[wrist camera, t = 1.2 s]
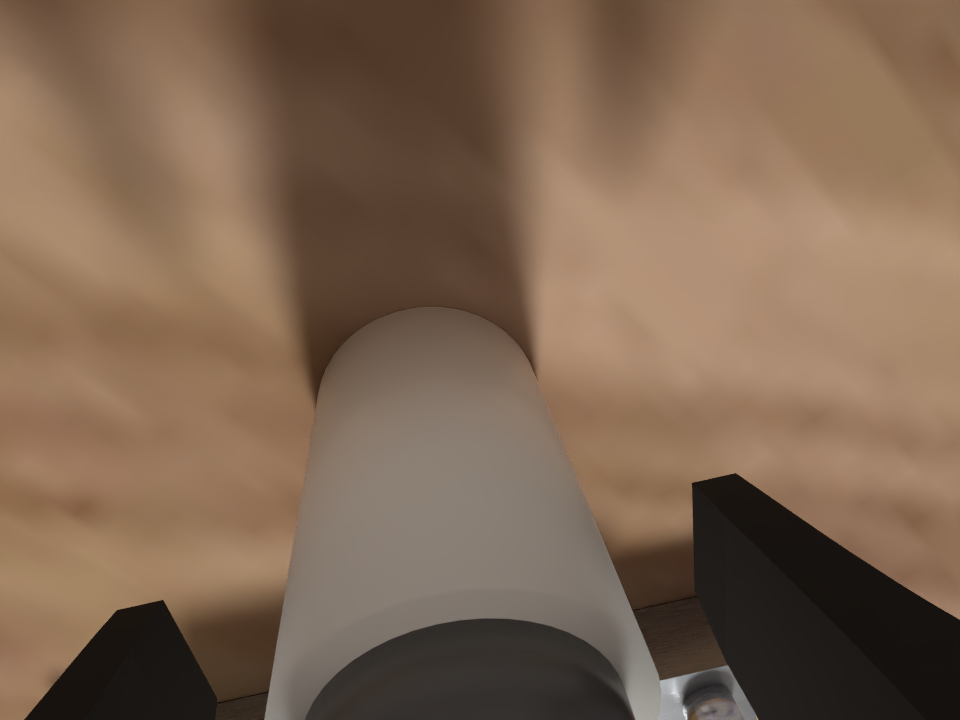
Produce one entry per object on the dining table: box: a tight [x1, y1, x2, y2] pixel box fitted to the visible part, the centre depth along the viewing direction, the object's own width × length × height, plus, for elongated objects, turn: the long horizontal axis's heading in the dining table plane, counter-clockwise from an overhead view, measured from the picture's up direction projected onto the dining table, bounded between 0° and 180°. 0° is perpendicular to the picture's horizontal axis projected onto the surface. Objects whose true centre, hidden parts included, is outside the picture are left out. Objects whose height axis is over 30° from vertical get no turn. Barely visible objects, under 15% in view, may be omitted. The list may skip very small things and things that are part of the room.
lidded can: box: [264, 307, 661, 720], centre depth 10 cm, size 4×4×8 cm
